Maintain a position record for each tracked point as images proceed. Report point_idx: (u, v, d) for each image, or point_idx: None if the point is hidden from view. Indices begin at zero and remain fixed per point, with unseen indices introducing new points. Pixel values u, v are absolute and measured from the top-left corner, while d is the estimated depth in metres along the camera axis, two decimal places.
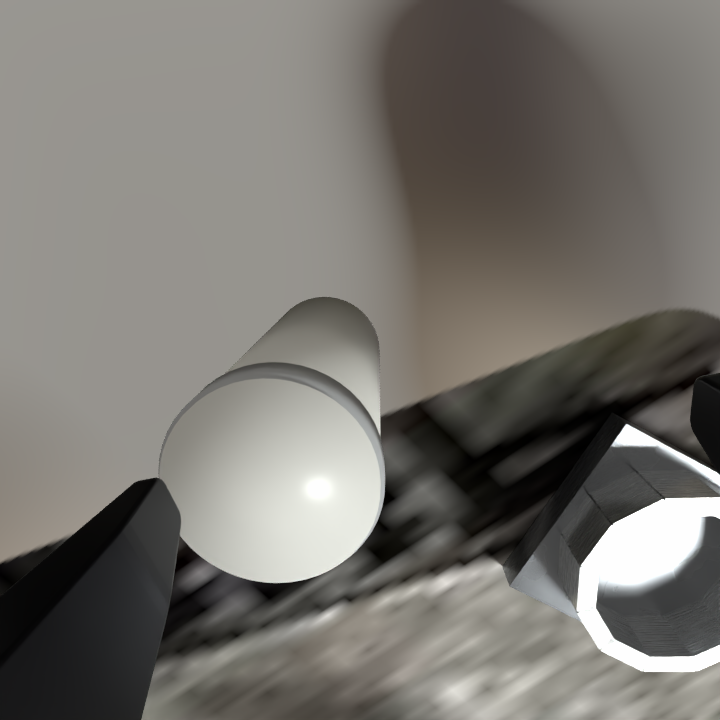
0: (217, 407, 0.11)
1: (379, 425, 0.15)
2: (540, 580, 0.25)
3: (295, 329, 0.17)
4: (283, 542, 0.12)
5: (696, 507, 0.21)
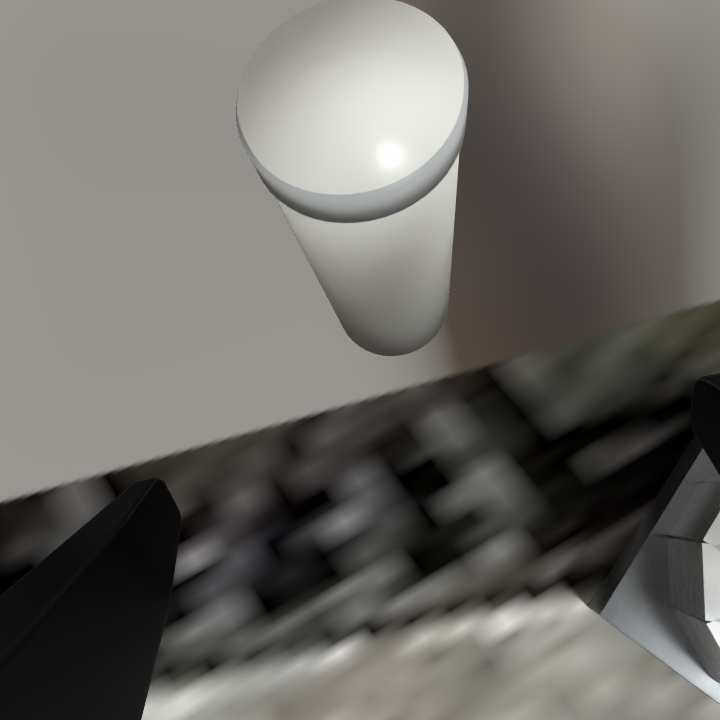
0: (315, 18, 0.12)
1: None
2: (644, 611, 0.18)
3: None
4: (349, 144, 0.11)
5: None
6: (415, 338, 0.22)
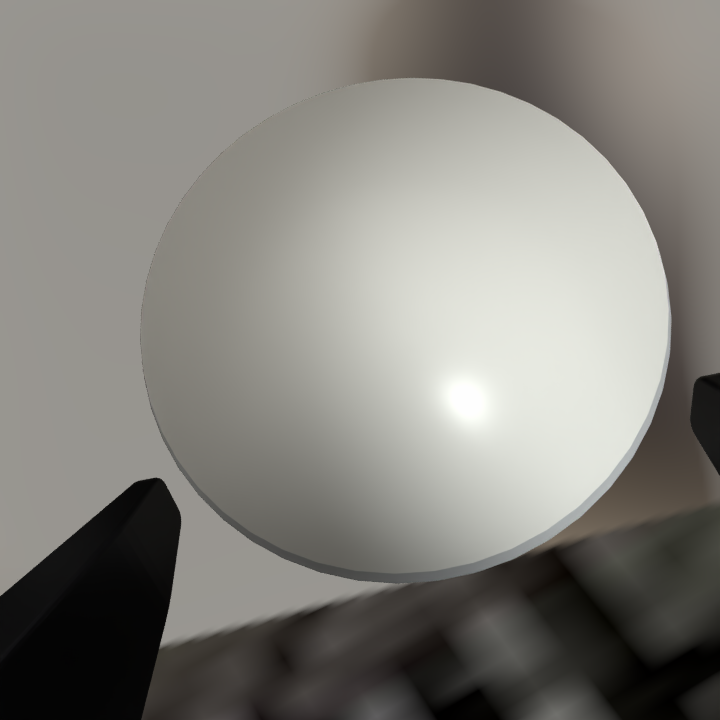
0: (314, 123, 0.06)
1: None
2: None
3: None
4: (394, 443, 0.05)
5: None
6: None
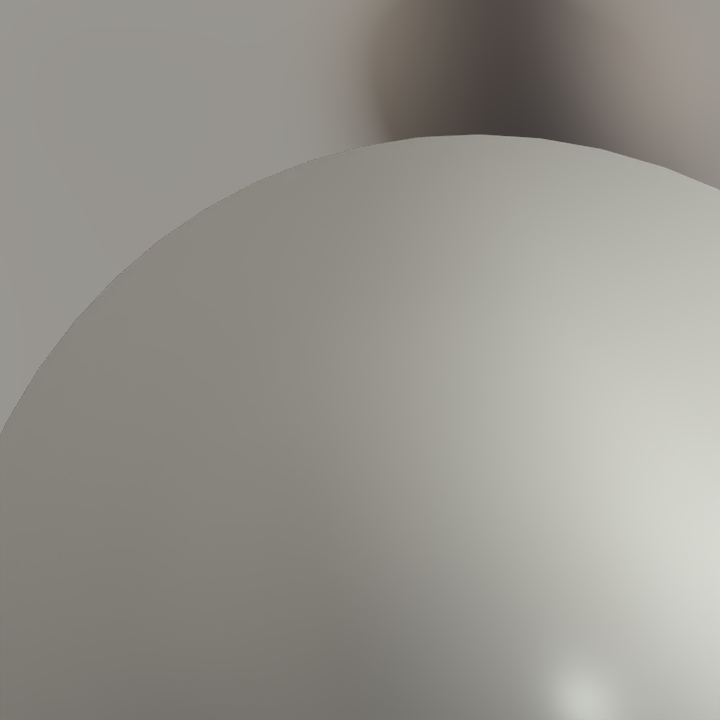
0: (293, 222, 0.03)
1: None
2: None
3: None
4: None
5: None
6: None
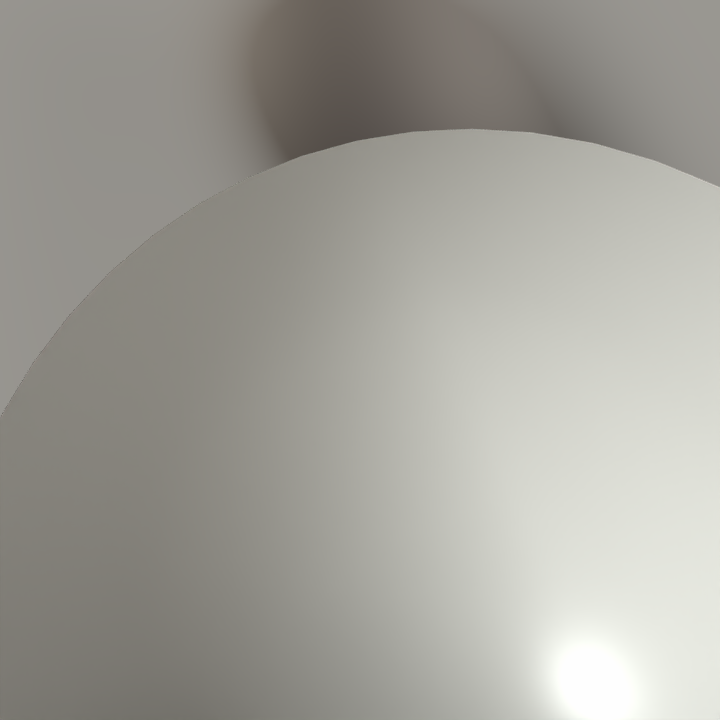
0: (286, 216, 0.03)
1: None
2: None
3: None
4: None
5: None
6: None
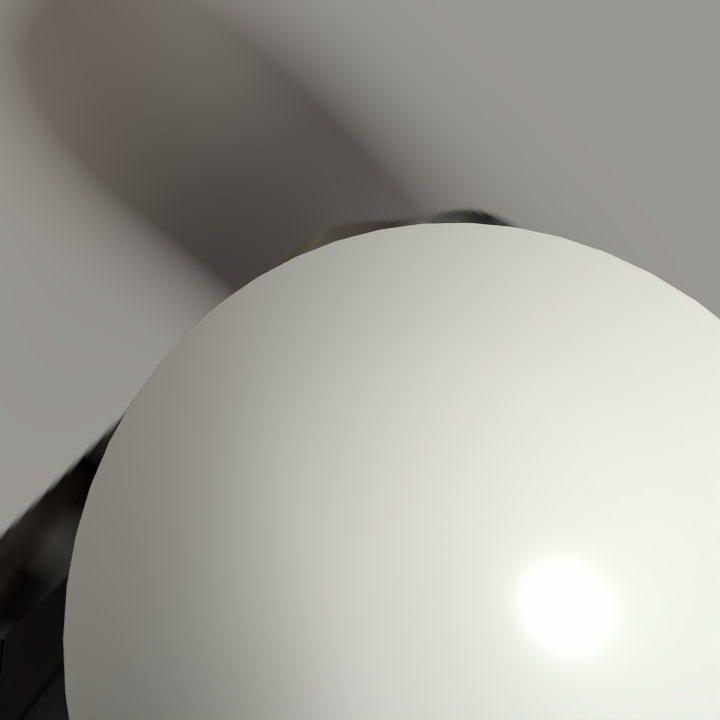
0: (325, 289, 0.04)
1: None
2: None
3: None
4: None
5: None
6: None
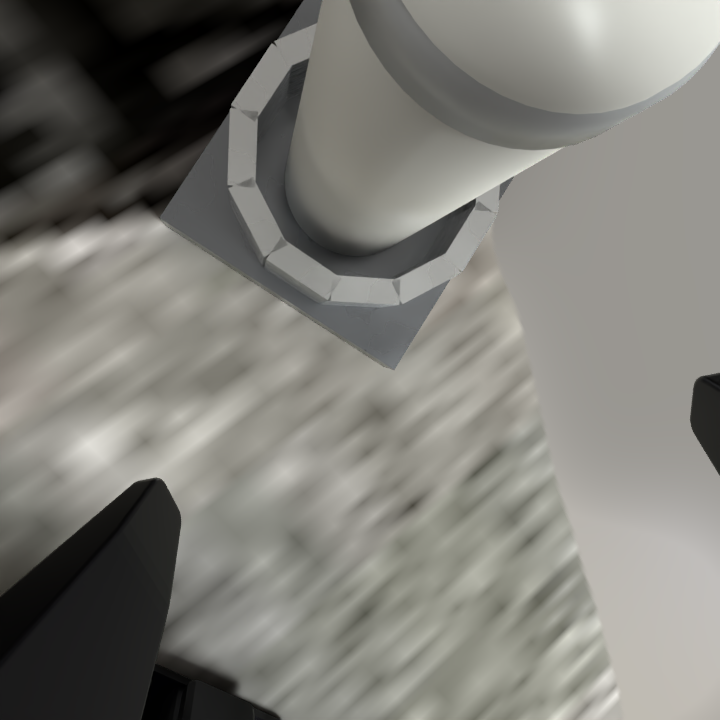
0: None
1: None
2: (205, 212, 0.18)
3: None
4: None
5: None
6: (362, 248, 0.17)
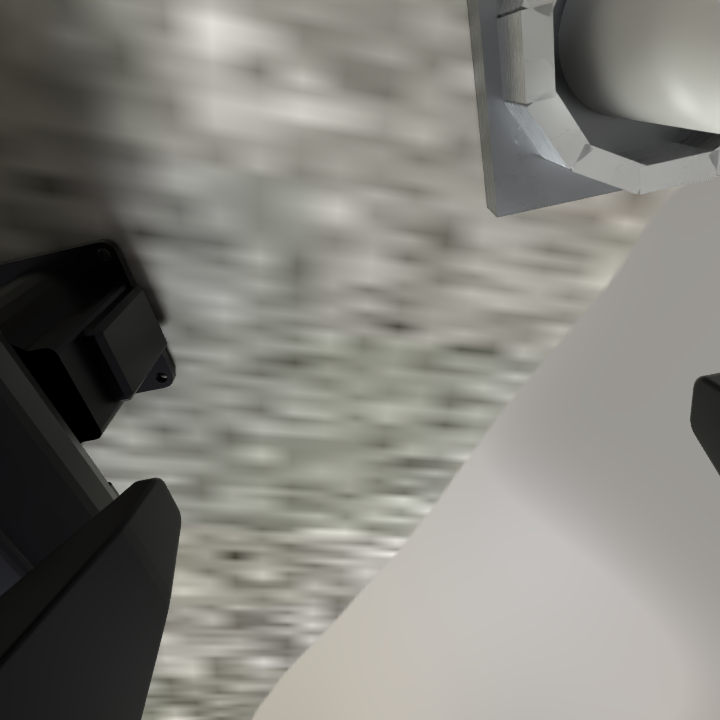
0: None
1: None
2: None
3: None
4: None
5: None
6: (593, 90, 0.15)
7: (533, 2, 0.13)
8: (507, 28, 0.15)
